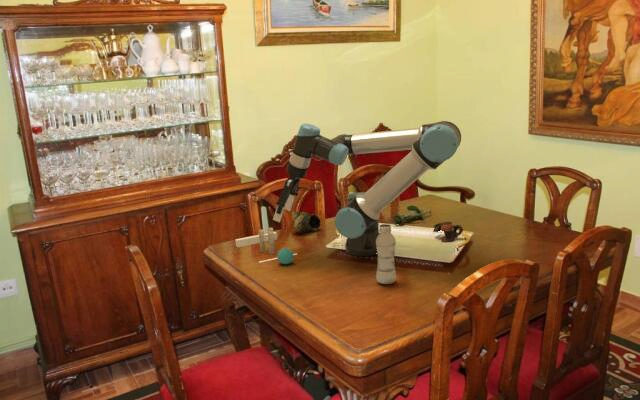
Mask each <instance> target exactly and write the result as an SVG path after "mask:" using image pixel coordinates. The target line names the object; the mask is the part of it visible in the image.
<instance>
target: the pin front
mask: <svg viewBox="0 0 640 400" xmlns="http://www.w3.org/2000/svg"><path fill="white" fill-rule="evenodd" d="M273 232H274V230H273V231H269V232H268V231H267V233H268V241H267V242H268V252H269V255H274V254H275V250H274V248H275V240H274V241H273Z"/></svg>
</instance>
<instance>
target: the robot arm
mask: <svg viewBox="0 0 640 400" xmlns="http://www.w3.org/2000/svg"><path fill="white" fill-rule="evenodd" d="M461 141H462V134H461V130H460V128H459V126H457V125H456V124H455V123H453V122H451V121H447V120H441V121H438V122H437V121H436V122H433V123H428V124H427V123H426V124H421V125H420V126H419V127H415V128H405V129H404V128H403V129H394V130H384V131H376V132H364V133H355V134H354V133H353V134H347V133H345V134H344V133H342V134H338V135H336V137H333V138H331V139H330V138H327V137H326V136H323V135H321V129H320V128H319V127H318V126H316V125H314V124H311V123H302V124H301V125H300V126H299V128H298V132H297V134H296V137H295V141H294V144H293V148H292V151H291V152H290V153H289V157H290V158H289V160H288V163H287V165H286V168H285V172H286V174H288V175H289V177H288V178H286V180H285V183H284V186H283V188H282V190H281V192H280V195H279V197H278V199H277V201H276V202H275V205H276V208H275V212H274V215H273V218H272V220H273V221H275V222H278V223H281V220H282V218H283V213H284V211H288V212H291V210H292V208H293V204H294V201H295V198H296V197H298V195H299V193H298V191H299V186H300V182H301V179H304V178H306V175H307V172H308V168H309V167H310V164H311V160H312V158H313V156H315V157H318V158H319V159H321V160H324V161H327V162H329V163H330V164H332V165H333V164H334V165H336V166H342V165H343V164H344V163H345V162H346V159H347V158H348V156H350V155H361V154H371V153H372V154H373V153H384V152H399V151H409V153H408V154H406V155H405V156H404V157H403V158H402V159H401V160H400V161H399V162H397V163H396V164H395V165H394V166H393V167H392V168H391V169H390V170H389V171H388V172H387V173H386V174H384V175H383V176H381V178H380V179H379V180H378V181H376V183H375V184H373V185H372V186H371V187H370V188H369V189H368V190H366V192H365V191H364V192H363V191H362V192H350V193H348V195H347V203H346V204H345V205H344V206H343V207H342V208H340V209H339V210H338V211H337V213H336V215H335V217H334V226H335V229H336V231H337V232H338V233H339V234H340V235H341V236H343V237H344V238H346V242H345V249H346V250H345V252H346V253H347V254H349V255H352V256H357V257H369V256H376V255H377V254H376V253H377V247H376V238H377V237H378V235H379V234H380V231H379V226H380V225H379V224H380V223H379V222H380V221H379V219H380V213H381V212H382V211H383V210H384V209H385V208H387V207H388V206H389V205H390V204H392V202H393V201H395V199H396V198H398V197H399V196H400V195H401V194H402V193H403V192H405V191H406V190H408V188H409V187H411V185H412V184H414V183H415V182H416V181H417V180H418V179H419V178H421V177H422V176H423V175H424V174H425V173H426V172H427V171H428V170H433V171H435V170H437V169H438V167H440V166H441V165H443V163H444V162H445V161H447V160H450V159H451V158H452V157H453V156H454V155H455V153H456V152H457V150H458V148H459V146H460V144H461Z"/></svg>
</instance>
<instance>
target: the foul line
mask: <svg viewBox="0 0 640 400" xmlns="http://www.w3.org/2000/svg"><path fill="white" fill-rule="evenodd" d="M293 256H298V253H297V252H296V253H293ZM274 260H278V256H277V257H274V258H269V259H265V260H260V261H258V263H259V264H262V263H266V262H270V261H274Z"/></svg>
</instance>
